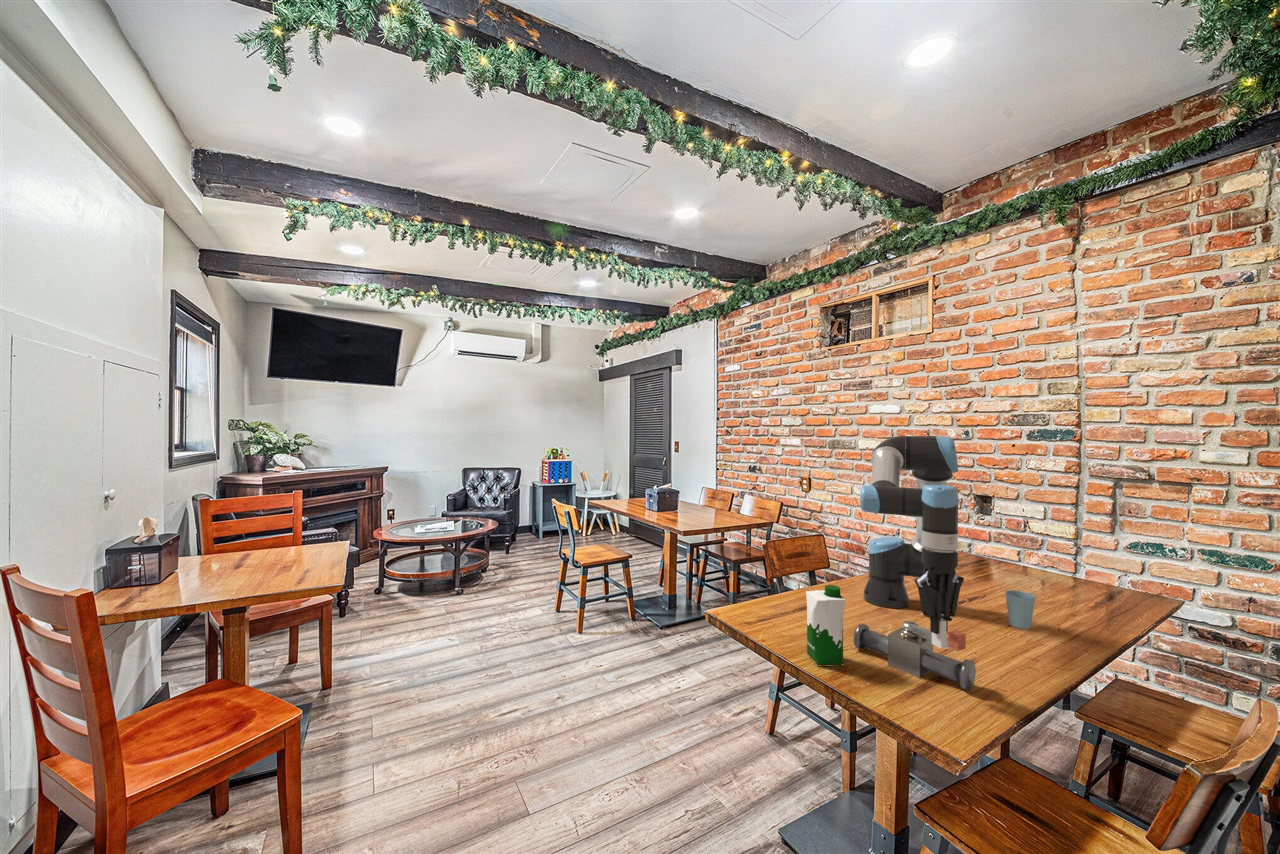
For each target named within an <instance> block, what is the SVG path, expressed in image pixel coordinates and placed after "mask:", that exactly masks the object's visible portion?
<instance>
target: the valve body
mask: <svg viewBox="0 0 1280 854" xmlns="http://www.w3.org/2000/svg"><path fill="white" fill-rule="evenodd" d="M853 645H854V647H855V648H856V649H859V650H861V651H862V650H865V649H869V650H871V651H873V652H877V653H879V654H882V655H883V656H886V657H887V666H888V667H890V666H891V668H893V669H895V668H896V670H898V669H899V670H898V671H900V670H901V671H900V672H903V673H905V672H906V673H905V674H908V675H910V676H912V677H913V676H914V677H916V678H919V679H921V678H922V677H924V675H926V674H927V673H932V674H935V675H937V676H940V677H942V678H945V679H948V680H950V681H953V682H956V683H958V684H959V686H960V688H961V689H963V690H965V691H967V692H970V691H971V690H972V689H973V687H974V685H975V681H976V672H977V670H976V668H977V667H976V664H975V661H974V660H970V659H967V658H966V659H964V660H963V661H960V660H957V659H954V658H952V657H949V656H946V655H943V654H940V653H937V652H934V645H933V644H932V641H931V640H929V639H927V638H925V637H922V636H920V635H918V634H913V633H908V632H905V631H904V630H903V626H901V627H899V628H896V630H894V631H891V632H890V633H888V635H885V634H883V633H880V632H877V631H874V630H871V629H870V627H869V626H868V625H867V624H864V623H859V624H857V626H856V627H855V629H854V633H853Z"/></svg>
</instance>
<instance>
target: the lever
mask: <svg viewBox="0 0 1280 854" xmlns="http://www.w3.org/2000/svg"><path fill="white" fill-rule="evenodd" d="M902 627H903V630H904V631H905V632H908V633H913V634H918V635H920V636H922V637H925V638H927V639H929V640H931V641H932V632H931V630H929V629H927V628H924V627H923V626H919V624H918V623H916V622H914V621H906V620H905V621H903V622H902ZM966 639H967V638H966V633H964V632H961V631H960V630H959V631H958V630H956V629H955V630H951V631H947V636H946V648H948V649H951V650H953V651H955V652H959V651H962V650H966V647H967V646H966V644H967V643H966V642H967V641H966Z"/></svg>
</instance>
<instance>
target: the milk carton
mask: <svg viewBox="0 0 1280 854" xmlns="http://www.w3.org/2000/svg"><path fill="white" fill-rule="evenodd" d="M805 593H806V596H805V597H806V654H808V655H809V656H810V657H811V658H812V659H813V660H814V661H815V662H816V663H815V662H814V661H813V660H812V659H811V658H810V657H809V656H808V655H807V656H808V657H809V658H810V659H811V660H812V661H813V662H814V663H815V664H817V665H842V664H843V665H844V612H845V606H846V599H845V598H844V597H843V596H842V595H841V587H839V586H838V585H835V584H834V585H832V584H829V585H828V584H827V585H824V589H823V590H817V589H816V590H806V591H805ZM817 665H816V666H817Z"/></svg>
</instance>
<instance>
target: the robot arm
mask: <svg viewBox="0 0 1280 854" xmlns="http://www.w3.org/2000/svg"><path fill="white" fill-rule="evenodd" d="M870 463H871V466H872V471H871V477H870V478H871V479H870V484H869V485H867V484H866V485H862V486H861V488H860V493H859V495H860V496H859V497H860V498H859V503H860V504H859V505H860V509H861V511H863V512H864V513H872V514H874V515H875V514H880V515H881V514H883V515H894V516H907V517H916V521H915V522H916V524H915V525H916V530H915V531H916V532H915V534H916V535H915V536H914V537H913V538H912V539H911V542H910V543H909V542H908V543H906V542H905V540H904V538H901V537H895V536H884V537H877V538H873V539H872V540H870V541H869V545H868V546H869V547H868V548H869V549H868V578H867V582H866V584H865V588H864V590H863V599H864V601H866V602H867V603H869V604H871V605H874V606H878V607H883V608H889V609H904V608H907V607H909V606H910V597H909V594H908V591H907V588H906V585H905V577H910V578H914V583H915V585H916V586H917V590H918V591H917V592H918V595H919V601H920V604H921V605H920V606H921V611H922V615H923V616H924V617H926V618H929V620H930V623H929V624H930V626H929V629H930V631H931V632H932V644H933V646H935V647H937V648H939V649H943V650H944V649H947V647H946V637H947V634H948V632H949V631H948V630H949V629H948V627H949V626H948V622H952V621H953V618H954V617H955V616H956V612H957V608H958V602H959V597H960V591H961V587H962V585H963V583H964V581H965V578H964V577H962V576H961V575H958V574H957V572H956V568H958V567H959V553H958V552H957V550H958V549H959V548H958V547H959V544H958V543H959V542H958V541H959V539H958V538H959V529H958V528H959V527H958V526H959V503H960V499H959V491H958V488H956V487H955V486H953V485H947V483H948V481H950V480H952V478H953V474H955V473H958V472H959V463H958V456H957V449H956V443H955V440H954V439H953V438H952V437H950V436H942V435H941V436H940V435H898V436H896V435H895V436H893V437H890V438H887V439H886V440H883V441H882V442H880V443H879V444H877V445H876V447H875V448H874V449H873V451H872V453H871V456H870ZM900 471H911V475H912V476H913V477H914V478H915V479H916V487H915V488H914V487H900V476H901V475H900V473H901V472H900Z"/></svg>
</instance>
